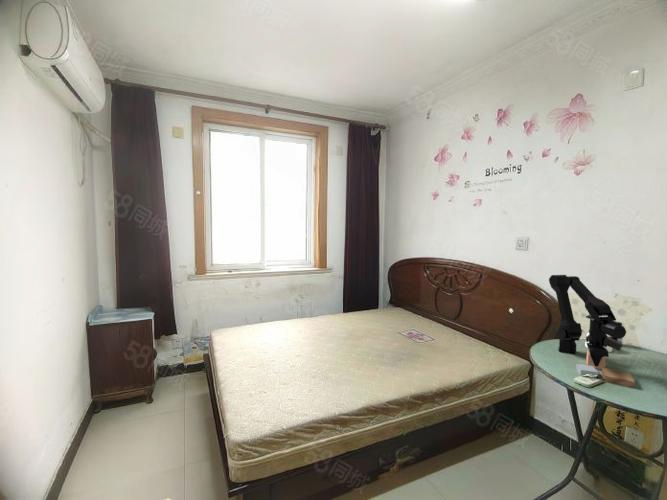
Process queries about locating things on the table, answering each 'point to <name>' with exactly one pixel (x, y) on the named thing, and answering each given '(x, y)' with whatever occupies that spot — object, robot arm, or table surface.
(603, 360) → the terracotta block
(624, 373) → the walnut block
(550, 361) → the table surface
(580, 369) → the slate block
